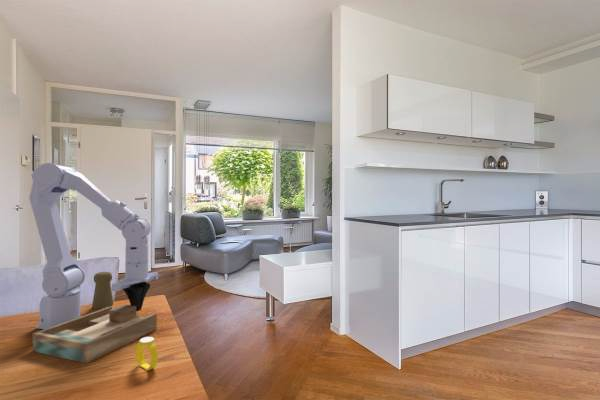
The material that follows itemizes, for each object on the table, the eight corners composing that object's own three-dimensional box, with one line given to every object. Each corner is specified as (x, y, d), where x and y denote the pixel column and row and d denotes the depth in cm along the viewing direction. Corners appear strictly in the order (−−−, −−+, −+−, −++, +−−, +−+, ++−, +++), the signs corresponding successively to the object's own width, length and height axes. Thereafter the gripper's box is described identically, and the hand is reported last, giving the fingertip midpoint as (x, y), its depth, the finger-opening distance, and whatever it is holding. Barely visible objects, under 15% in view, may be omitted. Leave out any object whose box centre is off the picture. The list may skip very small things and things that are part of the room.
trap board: (32, 351, 75) (32, 333, 75) (108, 320, 94) (108, 306, 94) (87, 363, 70) (87, 344, 70) (156, 328, 89) (156, 313, 89)
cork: (103, 309, 103) (103, 274, 103) (87, 308, 105) (87, 273, 105) (117, 303, 109) (118, 270, 109) (102, 302, 111) (102, 269, 111)
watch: (160, 370, 68) (161, 341, 68) (147, 376, 66) (149, 346, 65) (144, 359, 71) (145, 332, 71) (131, 365, 69) (133, 337, 69)
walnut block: (109, 321, 87) (109, 310, 87) (125, 315, 92) (125, 304, 92) (121, 323, 86) (121, 311, 86) (136, 317, 90) (136, 306, 90)
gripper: (126, 268, 85) (126, 320, 85) (166, 258, 99) (166, 304, 99) (106, 266, 87) (105, 317, 87) (147, 257, 101) (147, 301, 101)
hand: (136, 310), depth 93 cm, fingers closed
